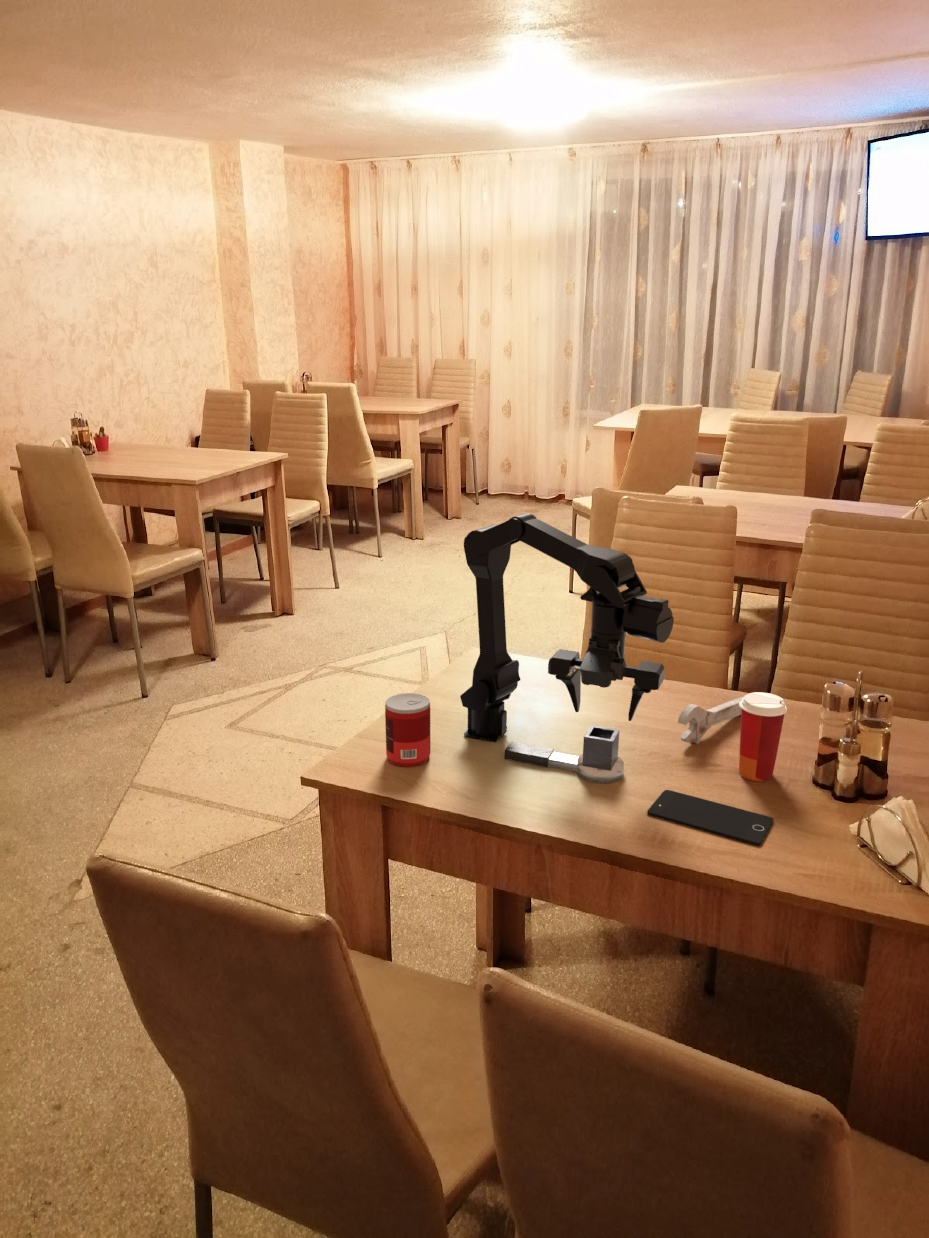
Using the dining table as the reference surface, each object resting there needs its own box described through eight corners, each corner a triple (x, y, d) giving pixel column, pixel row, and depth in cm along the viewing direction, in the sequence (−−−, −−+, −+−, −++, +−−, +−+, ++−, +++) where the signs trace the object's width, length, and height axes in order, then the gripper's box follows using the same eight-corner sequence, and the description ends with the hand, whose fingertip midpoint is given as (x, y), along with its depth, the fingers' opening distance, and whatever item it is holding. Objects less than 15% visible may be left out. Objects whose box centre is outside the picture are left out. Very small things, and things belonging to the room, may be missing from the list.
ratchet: (500, 764, 167) (500, 738, 165) (515, 745, 174) (515, 720, 172) (616, 786, 159) (618, 760, 157) (627, 766, 166) (629, 740, 164)
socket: (582, 765, 162) (583, 736, 160) (589, 753, 166) (591, 724, 165) (610, 770, 160) (612, 741, 159) (617, 758, 165) (619, 729, 163)
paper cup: (779, 767, 166) (788, 694, 162) (778, 787, 159) (787, 711, 155) (733, 760, 168) (741, 688, 164) (730, 780, 162) (738, 705, 157)
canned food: (439, 757, 169) (439, 700, 166) (407, 772, 164) (406, 714, 160) (409, 744, 174) (409, 688, 171) (377, 758, 169) (376, 701, 165)
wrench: (757, 720, 192) (681, 752, 171) (749, 717, 193) (673, 749, 172) (764, 682, 190) (688, 710, 169) (755, 680, 191) (679, 707, 170)
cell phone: (759, 848, 142) (760, 843, 142) (645, 816, 151) (646, 811, 150) (774, 822, 149) (774, 817, 149) (664, 793, 158) (665, 788, 158)
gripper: (539, 636, 152) (536, 725, 157) (654, 652, 145) (648, 744, 150) (559, 616, 162) (556, 700, 167) (668, 630, 155) (661, 717, 160)
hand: (603, 715), depth 161 cm, fingers open, 9 cm apart
